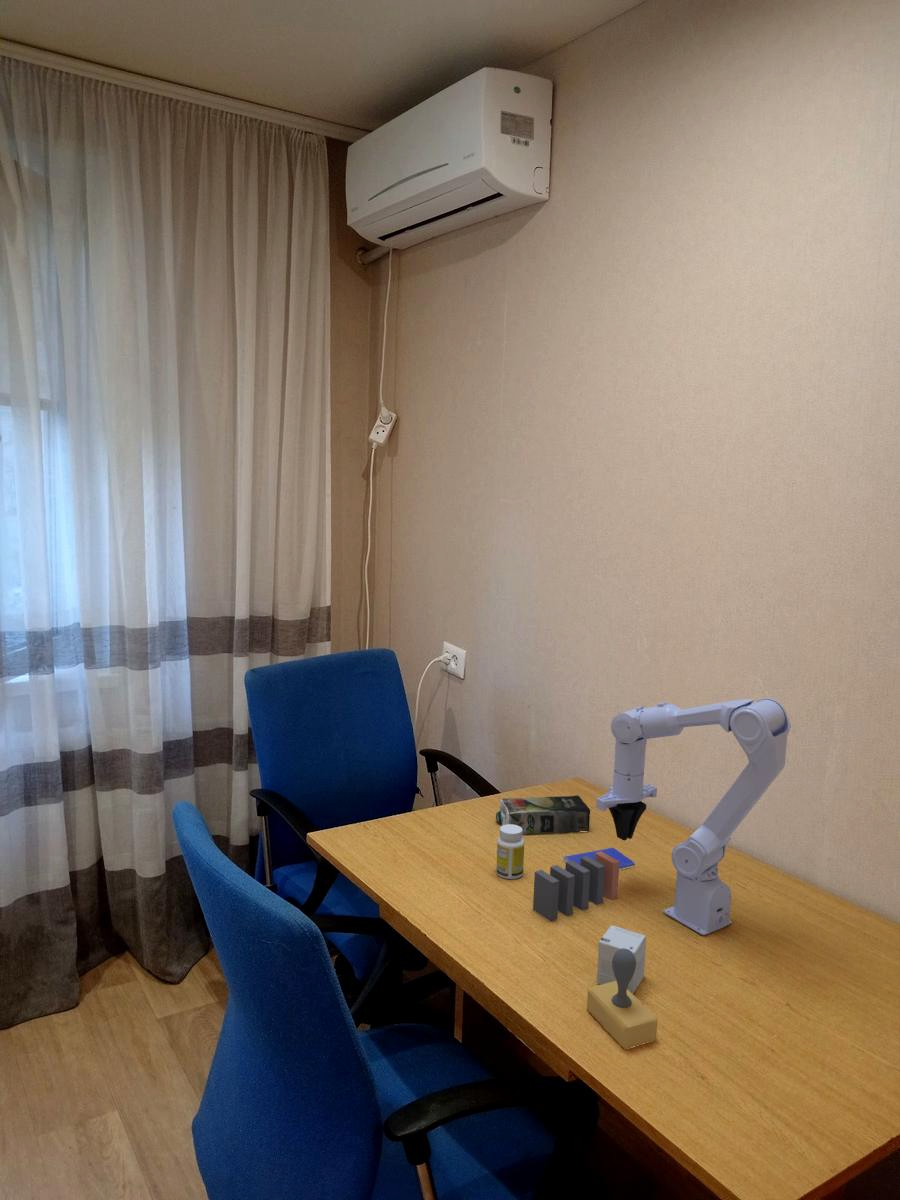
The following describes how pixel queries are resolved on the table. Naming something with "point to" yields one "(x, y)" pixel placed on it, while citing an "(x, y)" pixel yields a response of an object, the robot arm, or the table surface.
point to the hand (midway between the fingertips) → (624, 837)
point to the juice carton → (545, 814)
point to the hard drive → (611, 852)
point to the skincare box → (612, 943)
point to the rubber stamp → (622, 1005)
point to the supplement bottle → (510, 852)
